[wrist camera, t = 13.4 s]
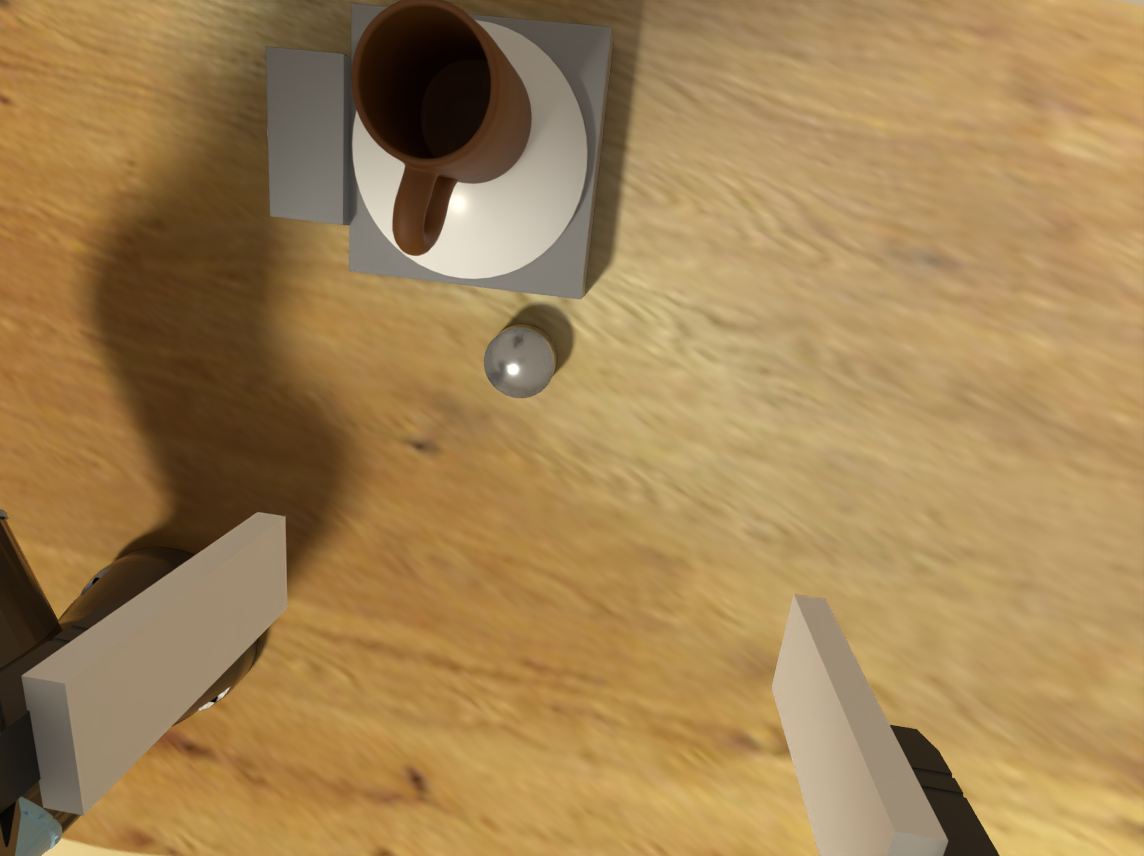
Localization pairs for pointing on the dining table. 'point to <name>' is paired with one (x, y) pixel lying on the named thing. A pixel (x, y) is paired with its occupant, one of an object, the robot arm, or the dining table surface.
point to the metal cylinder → (520, 361)
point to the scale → (476, 211)
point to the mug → (437, 109)
